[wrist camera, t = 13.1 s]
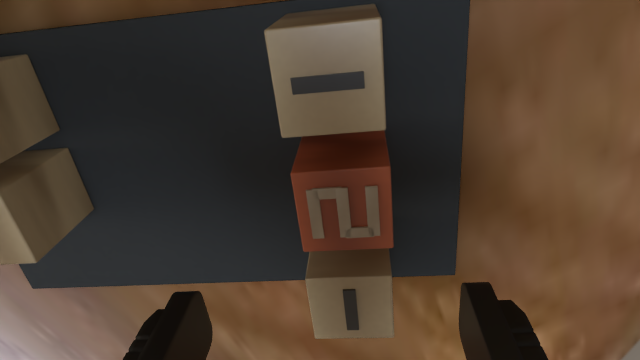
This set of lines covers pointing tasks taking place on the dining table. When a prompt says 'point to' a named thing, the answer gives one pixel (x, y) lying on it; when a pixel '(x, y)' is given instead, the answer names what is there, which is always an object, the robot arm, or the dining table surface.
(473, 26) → the dining table surface
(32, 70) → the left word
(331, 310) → the letter block row
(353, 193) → the red block
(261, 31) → the word mat
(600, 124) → the dining table surface
